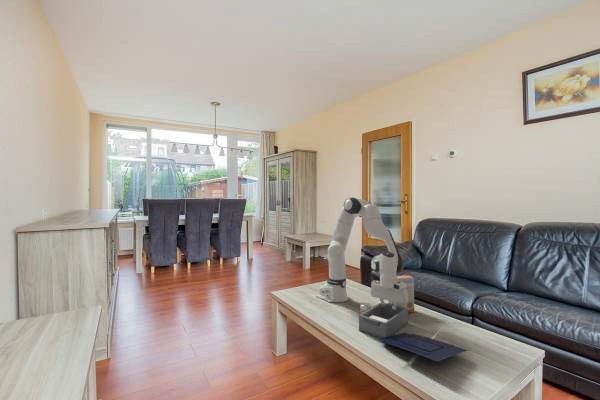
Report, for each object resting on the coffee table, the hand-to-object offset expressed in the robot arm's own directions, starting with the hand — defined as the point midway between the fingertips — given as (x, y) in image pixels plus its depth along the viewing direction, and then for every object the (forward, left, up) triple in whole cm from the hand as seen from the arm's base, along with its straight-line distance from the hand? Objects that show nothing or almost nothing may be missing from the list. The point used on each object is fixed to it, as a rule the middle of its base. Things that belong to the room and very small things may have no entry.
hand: (389, 308), depth 154 cm
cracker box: (-2, +20, -9) cm, 22 cm away
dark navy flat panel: (+23, -17, -9) cm, 30 cm away
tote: (0, -6, -9) cm, 10 cm away
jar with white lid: (-13, -3, -8) cm, 16 cm away
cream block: (0, -13, -8) cm, 15 cm away
